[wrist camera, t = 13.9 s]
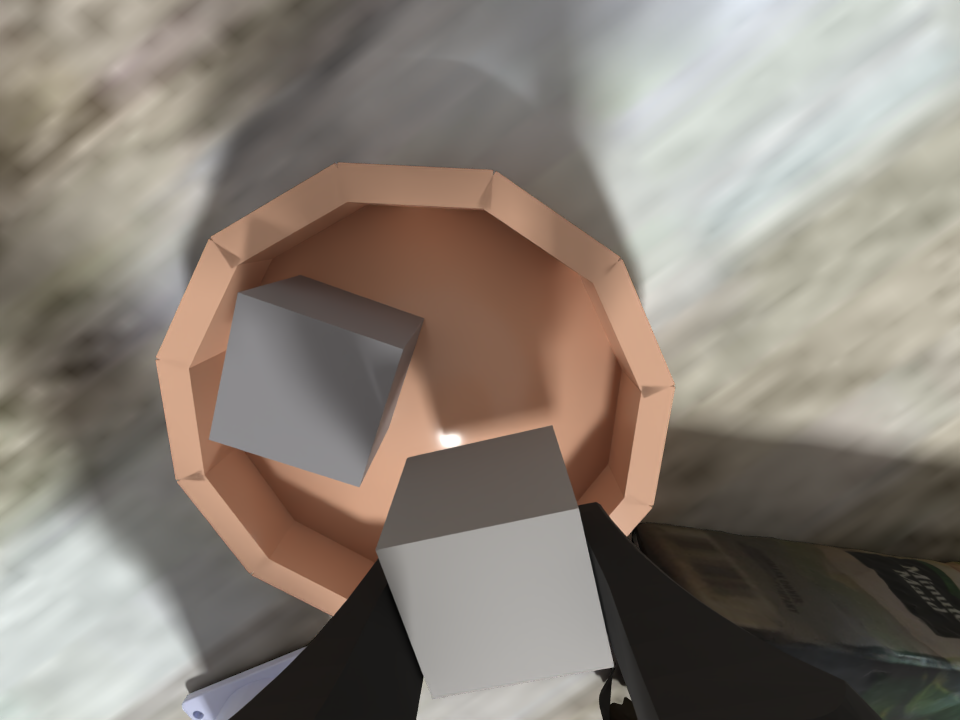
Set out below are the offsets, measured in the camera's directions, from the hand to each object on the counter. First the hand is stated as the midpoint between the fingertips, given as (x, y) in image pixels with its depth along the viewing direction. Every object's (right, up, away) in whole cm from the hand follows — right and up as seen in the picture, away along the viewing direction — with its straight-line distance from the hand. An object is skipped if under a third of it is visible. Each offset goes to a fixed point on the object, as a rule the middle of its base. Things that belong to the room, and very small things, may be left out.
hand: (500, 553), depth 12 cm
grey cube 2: (0, +1, +2) cm, 2 cm away
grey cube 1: (-5, +5, +4) cm, 8 cm away
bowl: (-3, +4, +5) cm, 7 cm away
